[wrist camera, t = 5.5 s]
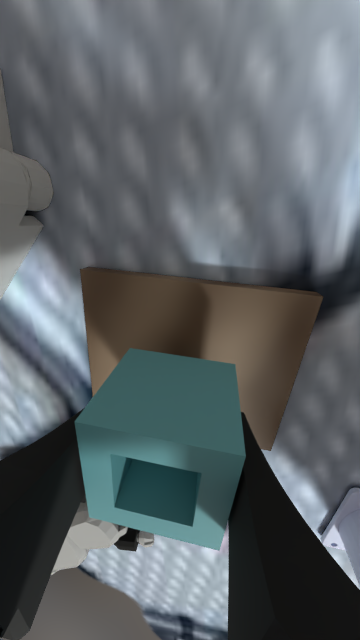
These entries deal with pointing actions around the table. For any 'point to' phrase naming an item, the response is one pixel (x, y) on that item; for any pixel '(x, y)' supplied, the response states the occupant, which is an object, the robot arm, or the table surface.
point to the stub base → (204, 332)
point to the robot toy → (96, 538)
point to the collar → (164, 446)
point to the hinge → (18, 200)
